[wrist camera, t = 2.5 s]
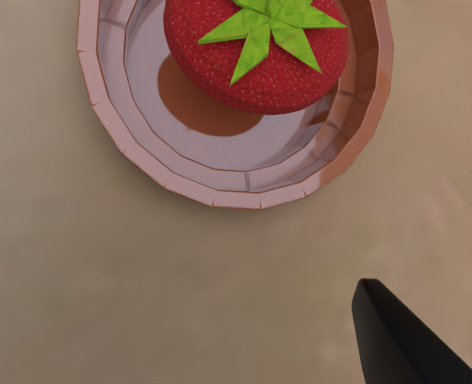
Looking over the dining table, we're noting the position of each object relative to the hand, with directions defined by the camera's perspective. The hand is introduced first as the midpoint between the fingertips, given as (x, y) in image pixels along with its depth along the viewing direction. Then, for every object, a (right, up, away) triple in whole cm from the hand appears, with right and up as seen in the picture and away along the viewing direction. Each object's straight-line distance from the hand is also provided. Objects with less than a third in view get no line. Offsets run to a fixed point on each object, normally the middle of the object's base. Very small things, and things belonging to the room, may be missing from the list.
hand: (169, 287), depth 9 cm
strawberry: (+1, +9, +12) cm, 15 cm away
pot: (+1, +9, +12) cm, 15 cm away
